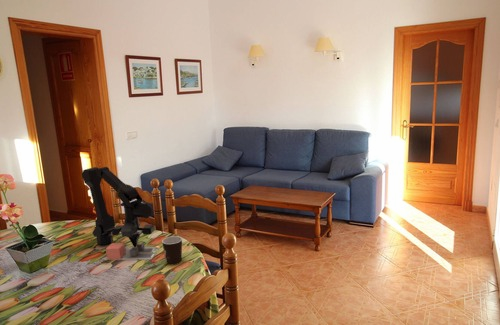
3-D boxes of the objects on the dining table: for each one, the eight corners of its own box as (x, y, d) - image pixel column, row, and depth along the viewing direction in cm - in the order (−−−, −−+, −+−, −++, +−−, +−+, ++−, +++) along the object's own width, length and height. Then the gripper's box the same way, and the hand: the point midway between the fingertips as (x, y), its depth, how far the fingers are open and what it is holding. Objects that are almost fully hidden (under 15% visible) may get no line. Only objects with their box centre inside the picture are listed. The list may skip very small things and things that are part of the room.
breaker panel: (104, 262, 170) (103, 258, 170) (116, 249, 183) (116, 246, 182) (151, 261, 168) (151, 258, 167) (160, 249, 180) (160, 245, 180)
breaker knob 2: (137, 250, 176) (136, 244, 176) (139, 248, 179) (138, 241, 178) (142, 250, 176) (141, 244, 175) (144, 248, 179) (143, 241, 178)
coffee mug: (181, 265, 163) (179, 243, 161) (162, 266, 163) (159, 244, 161) (186, 253, 174) (185, 233, 172) (168, 254, 175) (166, 233, 173)
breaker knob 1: (130, 256, 170) (129, 250, 170) (133, 253, 173) (132, 247, 173) (136, 256, 170) (135, 250, 170) (138, 253, 173) (137, 247, 173)
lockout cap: (107, 259, 170) (105, 248, 169) (113, 253, 176) (111, 242, 175) (120, 259, 169) (119, 248, 168) (126, 253, 175) (124, 242, 174)
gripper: (104, 222, 167) (108, 254, 171) (144, 221, 166) (148, 254, 169) (115, 213, 178) (119, 244, 181) (153, 212, 176) (156, 243, 180)
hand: (135, 246), depth 177 cm, fingers closed
